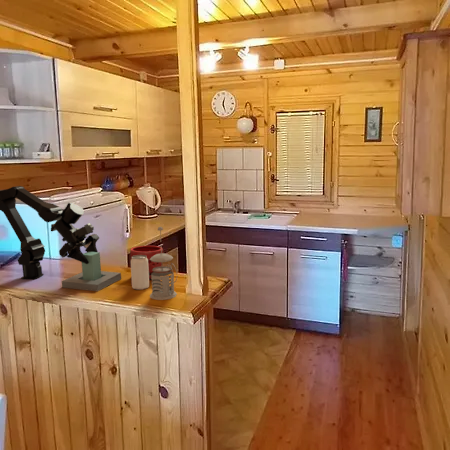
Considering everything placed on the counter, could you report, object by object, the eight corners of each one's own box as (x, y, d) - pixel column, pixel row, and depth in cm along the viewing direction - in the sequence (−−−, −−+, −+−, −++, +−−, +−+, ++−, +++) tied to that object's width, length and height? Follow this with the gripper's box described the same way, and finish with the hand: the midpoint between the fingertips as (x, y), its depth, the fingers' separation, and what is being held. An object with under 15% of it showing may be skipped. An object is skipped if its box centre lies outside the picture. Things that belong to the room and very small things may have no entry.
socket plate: (62, 287, 169) (61, 281, 169) (87, 275, 184) (87, 269, 184) (97, 291, 164) (97, 284, 164) (121, 278, 179) (120, 272, 179)
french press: (164, 288, 166) (161, 223, 161) (186, 295, 158) (183, 226, 154) (143, 296, 158) (140, 227, 154) (166, 303, 151) (163, 231, 146)
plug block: (83, 284, 173) (81, 254, 171) (91, 280, 177) (88, 251, 175) (94, 285, 171) (92, 255, 169) (101, 281, 176) (99, 252, 174)
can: (147, 289, 165) (146, 258, 163) (130, 290, 165) (128, 259, 163) (150, 284, 171) (149, 254, 169) (133, 284, 171) (132, 254, 169)
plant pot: (160, 281, 175) (159, 251, 173) (127, 281, 176) (126, 251, 174) (166, 271, 188) (165, 244, 186) (136, 271, 189) (134, 244, 187)
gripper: (62, 222, 162) (90, 253, 161) (93, 214, 180) (118, 242, 178) (47, 241, 166) (74, 272, 165) (79, 232, 184) (103, 260, 182)
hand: (93, 261), depth 172 cm, fingers open, 7 cm apart
